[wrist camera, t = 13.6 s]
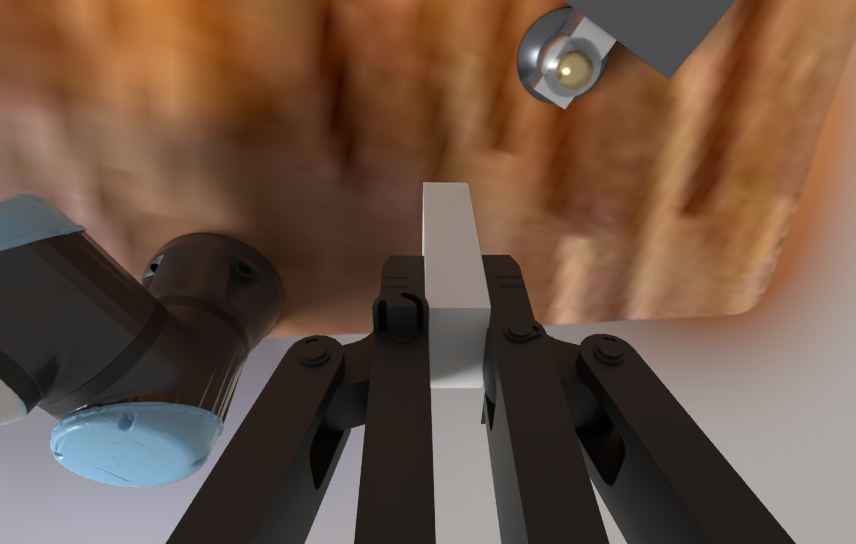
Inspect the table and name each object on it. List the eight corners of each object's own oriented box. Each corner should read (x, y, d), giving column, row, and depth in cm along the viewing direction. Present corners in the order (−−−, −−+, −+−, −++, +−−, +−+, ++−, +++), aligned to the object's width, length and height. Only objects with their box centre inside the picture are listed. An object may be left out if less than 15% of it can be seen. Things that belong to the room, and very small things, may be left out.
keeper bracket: (587, 131, 50) (605, 154, 45) (494, 70, 46) (503, 89, 41) (713, -28, 42) (751, -19, 37) (614, -115, 38) (641, -117, 34)
